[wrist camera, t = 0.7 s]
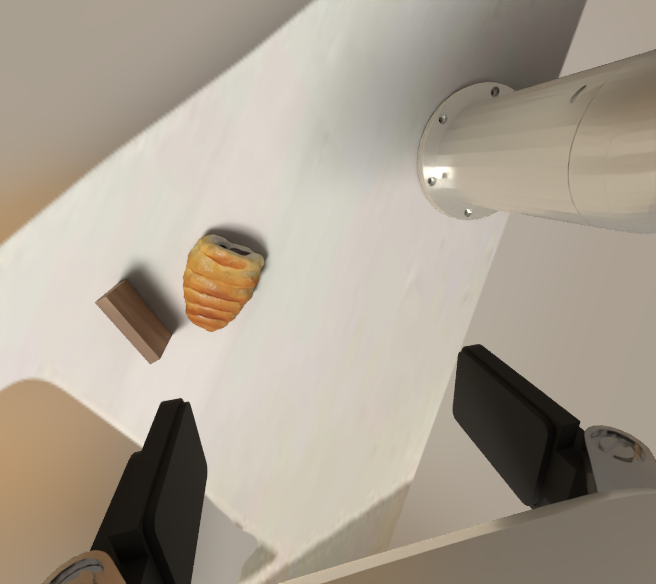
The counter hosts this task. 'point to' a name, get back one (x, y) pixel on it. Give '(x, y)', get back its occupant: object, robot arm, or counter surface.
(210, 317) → the pastry
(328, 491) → the counter surface
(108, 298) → the walnut block
